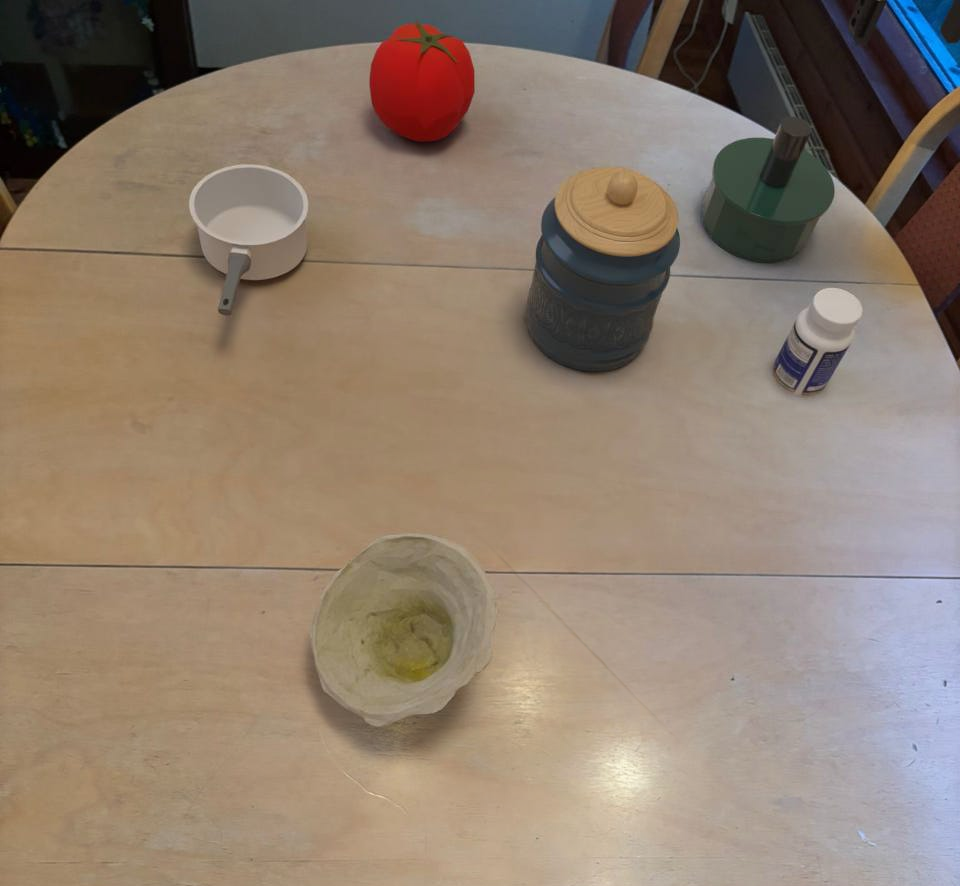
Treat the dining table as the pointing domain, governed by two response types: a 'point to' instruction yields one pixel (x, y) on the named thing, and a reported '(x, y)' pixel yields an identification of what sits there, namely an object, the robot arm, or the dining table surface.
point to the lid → (775, 176)
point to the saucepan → (249, 224)
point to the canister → (601, 267)
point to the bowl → (403, 627)
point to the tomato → (421, 82)
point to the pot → (751, 232)
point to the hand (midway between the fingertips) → (903, 38)
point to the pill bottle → (817, 342)
